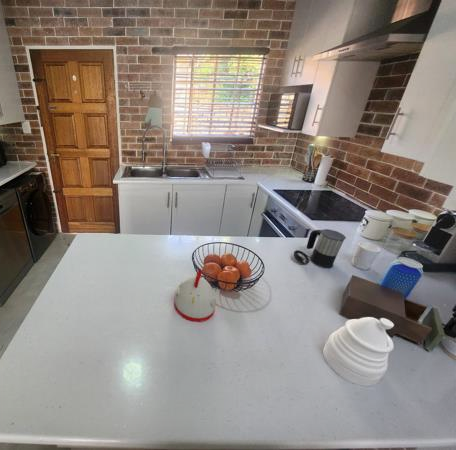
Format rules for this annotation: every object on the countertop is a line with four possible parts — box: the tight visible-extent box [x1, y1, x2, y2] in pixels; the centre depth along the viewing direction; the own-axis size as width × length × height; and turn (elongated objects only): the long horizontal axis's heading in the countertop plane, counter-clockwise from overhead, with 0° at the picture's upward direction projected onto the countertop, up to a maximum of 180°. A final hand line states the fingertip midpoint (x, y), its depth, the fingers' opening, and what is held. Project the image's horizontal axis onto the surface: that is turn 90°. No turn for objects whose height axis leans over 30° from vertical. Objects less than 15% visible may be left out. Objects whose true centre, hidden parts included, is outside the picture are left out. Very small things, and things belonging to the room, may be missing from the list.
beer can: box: [378, 256, 424, 299], centre depth 90 cm, size 8×8×16 cm
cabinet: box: [338, 274, 406, 339], centre depth 84 cm, size 14×15×9 cm
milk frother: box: [293, 228, 347, 269], centre depth 110 cm, size 14×16×15 cm
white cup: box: [350, 241, 381, 271], centre depth 110 cm, size 8×8×10 cm
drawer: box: [395, 298, 456, 352], centre depth 77 cm, size 19×13×7 cm
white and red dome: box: [173, 269, 216, 323], centre depth 82 cm, size 14×14×15 cm
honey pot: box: [322, 317, 395, 388], centre depth 65 cm, size 13×13×18 cm
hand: (446, 336), depth 74 cm, fingers closed
